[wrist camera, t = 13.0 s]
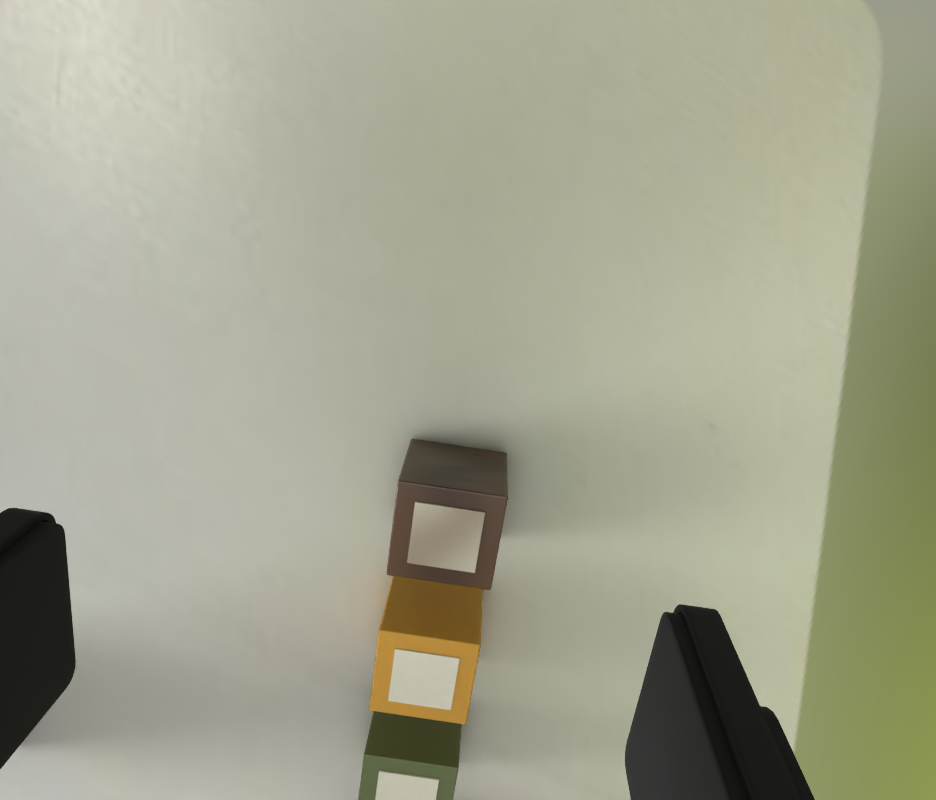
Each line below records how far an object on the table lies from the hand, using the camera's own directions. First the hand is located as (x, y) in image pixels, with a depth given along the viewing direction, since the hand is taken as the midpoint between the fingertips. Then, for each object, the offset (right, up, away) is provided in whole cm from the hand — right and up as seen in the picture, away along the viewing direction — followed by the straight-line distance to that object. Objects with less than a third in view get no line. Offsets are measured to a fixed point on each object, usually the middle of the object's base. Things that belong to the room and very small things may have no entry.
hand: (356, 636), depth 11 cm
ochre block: (0, -9, +29) cm, 30 cm away
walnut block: (+1, -1, +26) cm, 26 cm away
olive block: (-1, -16, +32) cm, 35 cm away
